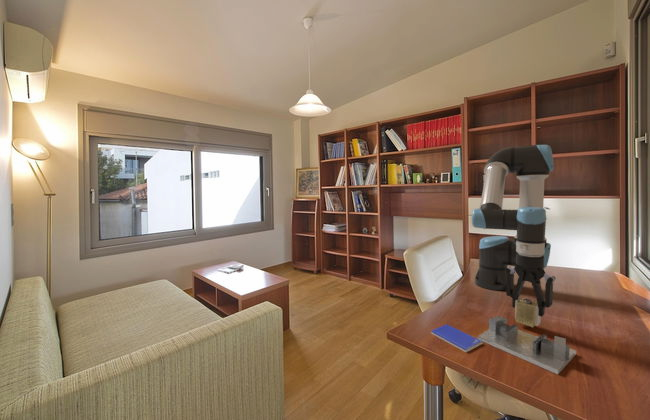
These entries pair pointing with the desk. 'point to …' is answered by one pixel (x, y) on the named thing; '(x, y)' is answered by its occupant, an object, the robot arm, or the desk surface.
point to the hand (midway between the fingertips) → (527, 320)
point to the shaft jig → (528, 345)
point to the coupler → (526, 312)
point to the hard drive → (456, 338)
